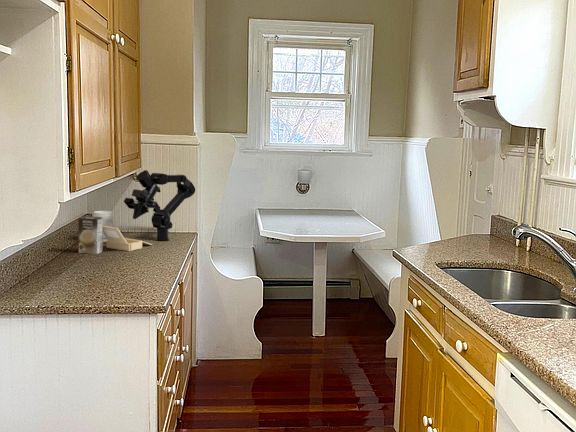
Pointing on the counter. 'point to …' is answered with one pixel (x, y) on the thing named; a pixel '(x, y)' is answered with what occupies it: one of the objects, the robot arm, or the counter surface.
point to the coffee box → (90, 235)
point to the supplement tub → (105, 220)
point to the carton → (126, 245)
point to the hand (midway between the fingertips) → (133, 218)
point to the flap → (113, 234)
